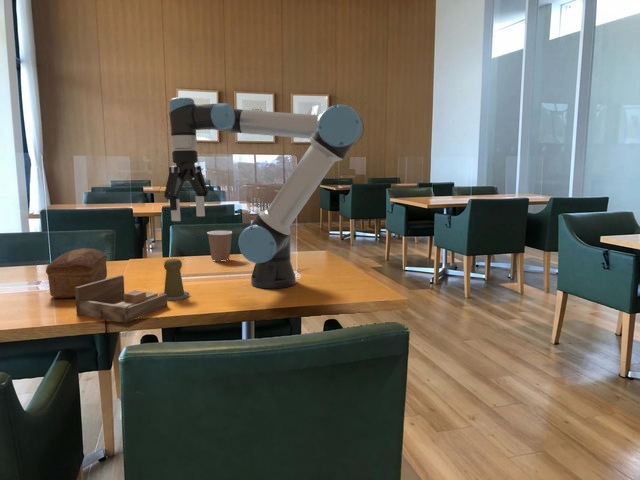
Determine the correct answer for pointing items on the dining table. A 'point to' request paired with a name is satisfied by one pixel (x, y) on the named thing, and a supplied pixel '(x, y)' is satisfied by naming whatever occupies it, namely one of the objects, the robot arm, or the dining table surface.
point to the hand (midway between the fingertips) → (189, 218)
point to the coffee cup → (220, 244)
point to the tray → (112, 301)
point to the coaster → (177, 297)
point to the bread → (75, 271)
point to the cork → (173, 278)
